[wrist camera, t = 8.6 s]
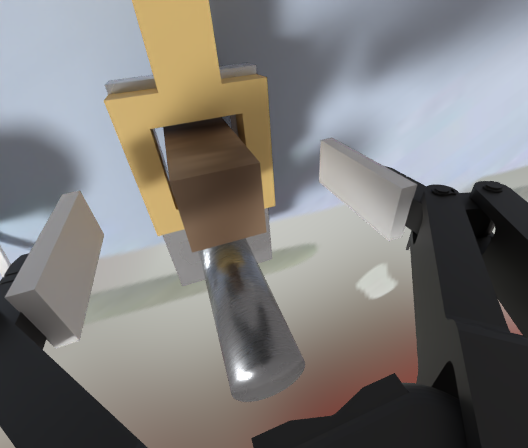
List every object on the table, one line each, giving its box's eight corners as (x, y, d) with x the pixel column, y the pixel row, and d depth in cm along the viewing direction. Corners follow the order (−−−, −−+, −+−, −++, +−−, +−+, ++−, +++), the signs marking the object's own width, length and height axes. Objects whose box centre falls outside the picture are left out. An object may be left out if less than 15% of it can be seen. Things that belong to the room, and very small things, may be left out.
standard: (115, 73, 20) (32, 159, 6) (233, 59, 22) (381, 97, 8) (178, 250, 30) (203, 435, 16) (254, 229, 32) (335, 377, 18)
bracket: (37, -145, 14) (-54, -291, 8) (208, -138, 16) (245, -249, 10) (155, 187, 25) (157, 236, 19) (246, 167, 27) (275, 205, 21)
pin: (174, 157, 25) (192, 252, 14) (161, 110, 22) (169, 181, 11) (217, 148, 25) (266, 232, 14) (209, 103, 23) (260, 162, 12)
